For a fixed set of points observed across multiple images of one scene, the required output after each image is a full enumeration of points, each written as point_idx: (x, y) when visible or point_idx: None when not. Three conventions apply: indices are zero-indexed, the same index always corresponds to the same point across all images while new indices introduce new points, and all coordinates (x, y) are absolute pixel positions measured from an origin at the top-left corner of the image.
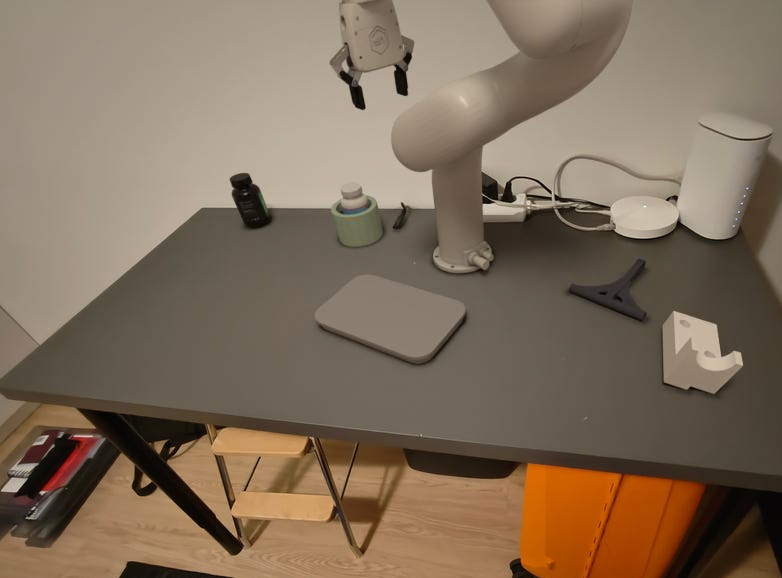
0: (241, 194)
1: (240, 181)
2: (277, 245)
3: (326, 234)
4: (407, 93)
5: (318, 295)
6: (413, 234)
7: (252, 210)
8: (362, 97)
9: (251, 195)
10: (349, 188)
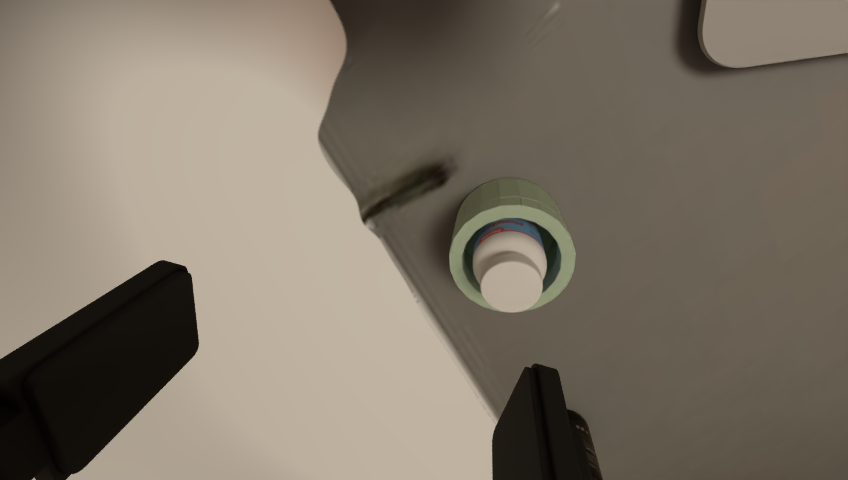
0: None
1: None
2: (618, 347)
3: None
4: (159, 264)
5: (779, 131)
6: (442, 116)
7: (585, 446)
8: (556, 436)
9: None
10: (519, 285)
